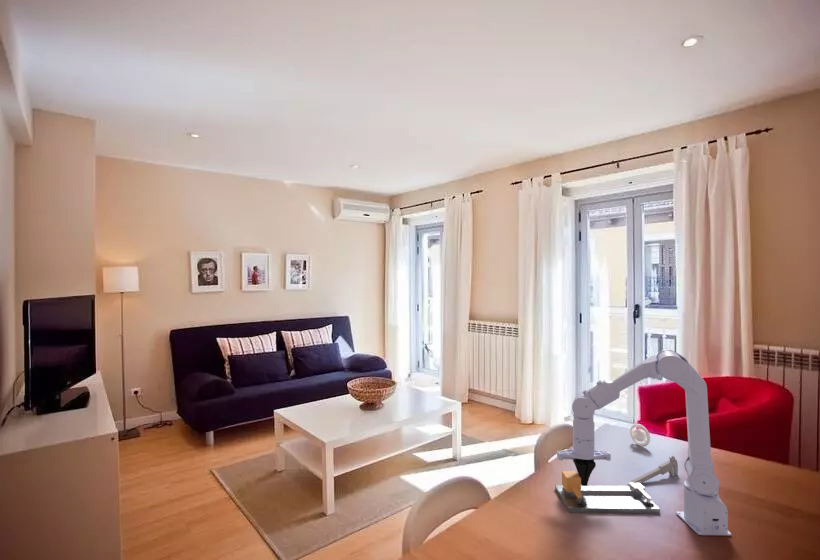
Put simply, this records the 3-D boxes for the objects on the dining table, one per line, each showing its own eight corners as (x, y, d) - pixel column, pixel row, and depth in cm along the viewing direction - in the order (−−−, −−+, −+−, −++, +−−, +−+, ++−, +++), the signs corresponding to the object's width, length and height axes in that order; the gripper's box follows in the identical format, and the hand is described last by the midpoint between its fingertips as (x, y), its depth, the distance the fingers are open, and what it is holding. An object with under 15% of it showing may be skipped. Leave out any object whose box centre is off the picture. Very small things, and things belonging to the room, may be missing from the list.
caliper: (674, 474, 134) (674, 454, 134) (677, 475, 133) (678, 456, 133) (627, 486, 126) (627, 465, 126) (630, 488, 125) (630, 467, 125)
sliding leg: (587, 504, 114) (587, 486, 114) (572, 503, 114) (572, 486, 114) (575, 487, 122) (575, 471, 122) (561, 487, 122) (561, 471, 122)
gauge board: (660, 513, 112) (660, 500, 112) (569, 512, 113) (569, 499, 112) (637, 489, 124) (637, 478, 124) (555, 489, 125) (555, 477, 124)
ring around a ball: (653, 449, 152) (653, 427, 152) (642, 452, 150) (642, 429, 149) (633, 441, 159) (633, 420, 159) (622, 443, 157) (623, 422, 157)
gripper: (603, 431, 124) (603, 477, 124) (553, 431, 124) (553, 477, 124) (614, 441, 117) (613, 489, 117) (561, 441, 117) (561, 489, 117)
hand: (583, 484), depth 120 cm, fingers closed
